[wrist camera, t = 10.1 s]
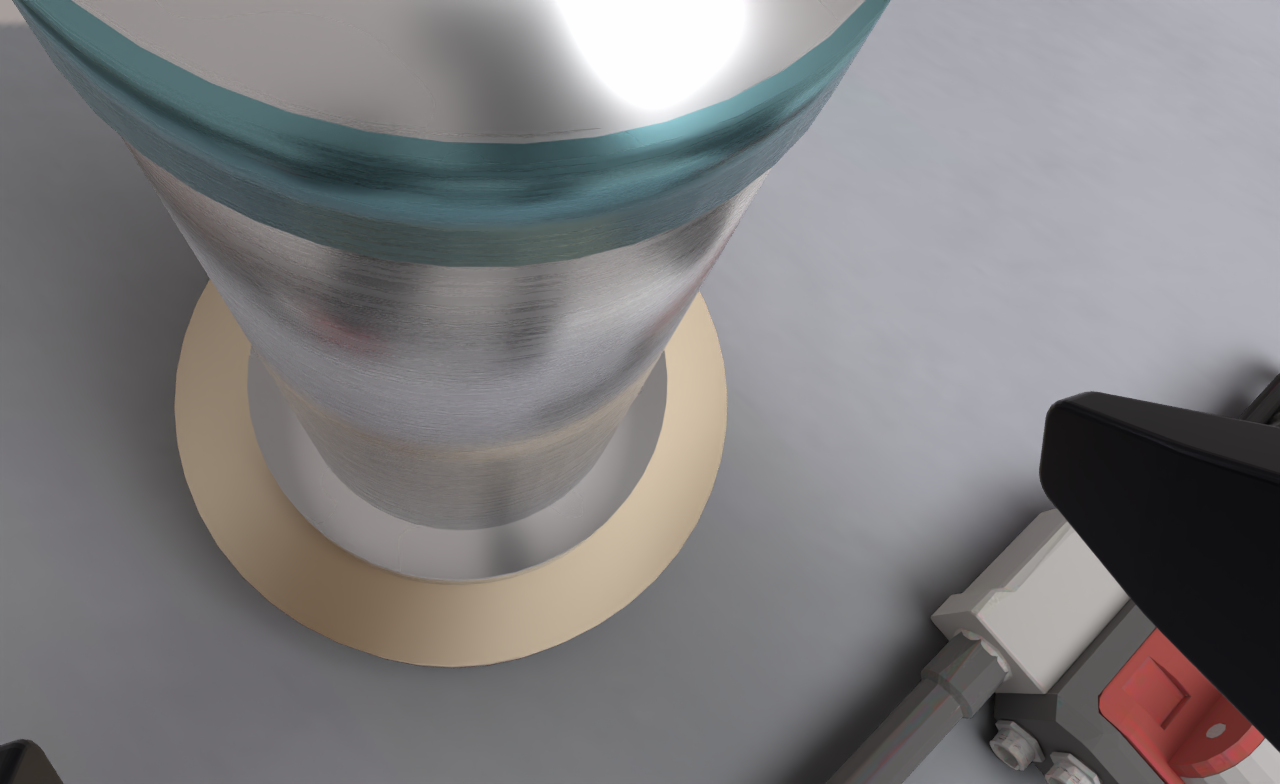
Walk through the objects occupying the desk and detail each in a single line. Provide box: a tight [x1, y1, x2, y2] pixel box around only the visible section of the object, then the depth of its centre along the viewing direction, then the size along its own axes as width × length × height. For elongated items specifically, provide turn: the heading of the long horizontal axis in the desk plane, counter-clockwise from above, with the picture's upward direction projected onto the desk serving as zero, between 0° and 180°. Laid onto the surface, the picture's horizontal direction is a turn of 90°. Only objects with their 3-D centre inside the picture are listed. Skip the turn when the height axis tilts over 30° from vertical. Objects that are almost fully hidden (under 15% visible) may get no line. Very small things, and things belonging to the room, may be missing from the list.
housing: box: [12, 0, 890, 585], centre depth 11 cm, size 7×7×13 cm
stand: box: [174, 279, 727, 668], centre depth 19 cm, size 10×10×3 cm
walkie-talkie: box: [825, 374, 1280, 784], centre depth 19 cm, size 9×4×20 cm
